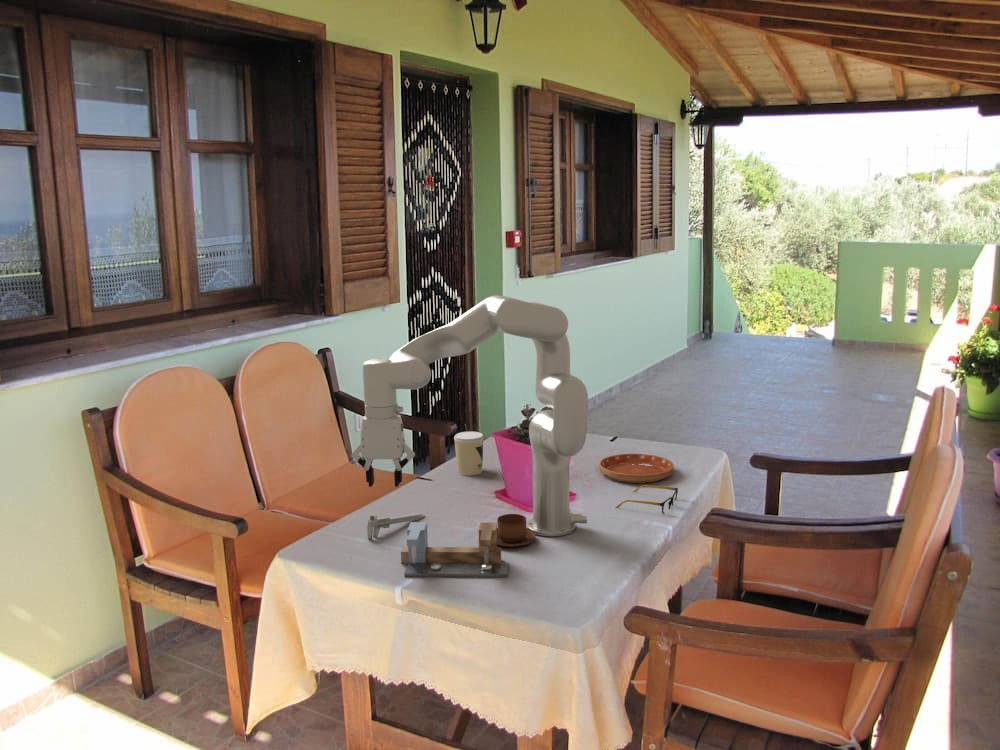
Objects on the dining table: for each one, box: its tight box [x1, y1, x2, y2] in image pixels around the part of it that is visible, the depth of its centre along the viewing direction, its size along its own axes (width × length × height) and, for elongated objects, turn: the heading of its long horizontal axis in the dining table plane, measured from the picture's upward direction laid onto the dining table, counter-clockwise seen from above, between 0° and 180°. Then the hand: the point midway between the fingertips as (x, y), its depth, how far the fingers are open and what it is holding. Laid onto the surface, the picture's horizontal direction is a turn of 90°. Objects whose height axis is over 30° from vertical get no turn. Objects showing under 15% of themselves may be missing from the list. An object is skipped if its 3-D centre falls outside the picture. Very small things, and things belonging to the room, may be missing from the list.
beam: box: [400, 522, 502, 565], centre depth 220 cm, size 24×11×9 cm, turn 87°
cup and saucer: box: [496, 513, 537, 548], centre depth 235 cm, size 12×12×6 cm
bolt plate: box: [403, 563, 510, 578], centre depth 218 cm, size 24×6×2 cm, turn 87°
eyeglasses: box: [615, 484, 679, 514], centre depth 261 cm, size 14×14×4 cm
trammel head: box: [406, 521, 429, 563], centre depth 221 cm, size 4×11×9 cm, turn 177°
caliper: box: [366, 512, 426, 540], centre depth 246 cm, size 21×1×6 cm, turn 142°
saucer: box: [598, 453, 675, 484], centre depth 287 cm, size 23×23×4 cm
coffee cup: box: [453, 431, 485, 477], centre depth 291 cm, size 9×9×12 cm
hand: (384, 484), depth 221 cm, fingers open, 5 cm apart
